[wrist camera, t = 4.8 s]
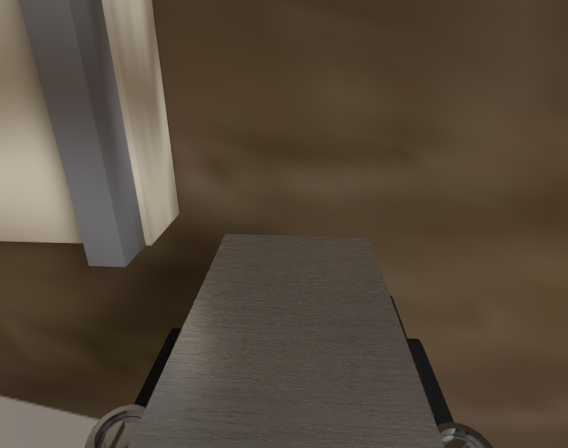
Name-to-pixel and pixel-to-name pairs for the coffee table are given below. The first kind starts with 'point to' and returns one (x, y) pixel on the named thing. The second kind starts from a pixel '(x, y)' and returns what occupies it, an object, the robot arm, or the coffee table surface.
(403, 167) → the coffee table surface
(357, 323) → the tall white block
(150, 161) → the cradle
